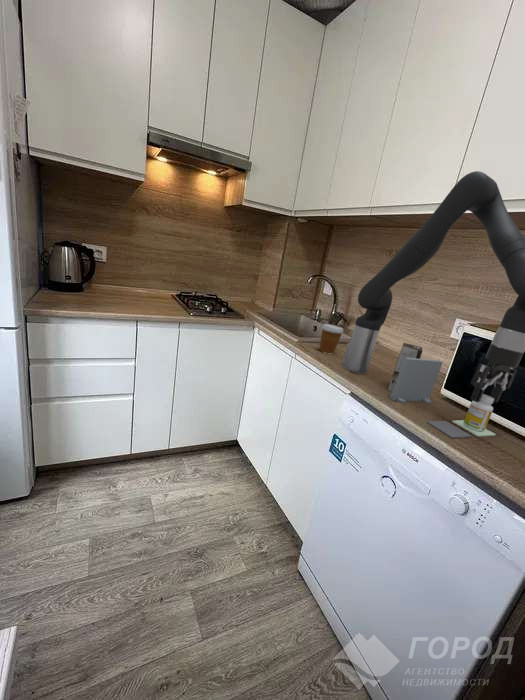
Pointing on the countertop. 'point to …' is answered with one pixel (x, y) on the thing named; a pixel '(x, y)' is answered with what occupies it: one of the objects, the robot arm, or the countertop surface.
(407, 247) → the robot arm
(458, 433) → the grey pad
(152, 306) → the countertop surface
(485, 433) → the green pad
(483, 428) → the supplement bottle
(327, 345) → the disposable coffee cup
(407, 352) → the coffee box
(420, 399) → the screen
